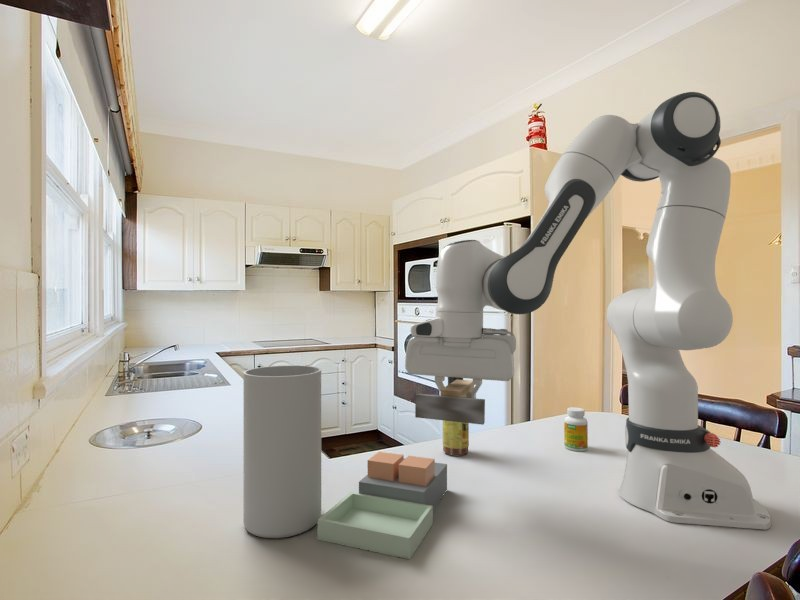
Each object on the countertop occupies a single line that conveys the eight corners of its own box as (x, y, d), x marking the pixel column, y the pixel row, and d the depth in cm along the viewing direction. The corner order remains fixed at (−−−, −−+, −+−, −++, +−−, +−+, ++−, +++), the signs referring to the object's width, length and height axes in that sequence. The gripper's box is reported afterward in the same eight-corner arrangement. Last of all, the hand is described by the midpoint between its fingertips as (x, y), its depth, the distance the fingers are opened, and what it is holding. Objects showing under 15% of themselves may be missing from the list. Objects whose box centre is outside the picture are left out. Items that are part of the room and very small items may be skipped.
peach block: (434, 475, 82) (434, 459, 82) (425, 486, 78) (425, 468, 78) (408, 471, 84) (408, 455, 84) (398, 481, 80) (398, 464, 80)
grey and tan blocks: (495, 408, 89) (495, 382, 89) (483, 424, 76) (483, 394, 76) (435, 402, 93) (436, 377, 93) (415, 417, 80) (415, 389, 80)
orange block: (403, 471, 85) (403, 454, 85) (393, 481, 80) (393, 463, 80) (379, 467, 86) (379, 451, 86) (367, 477, 82) (367, 460, 82)
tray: (432, 524, 75) (432, 505, 75) (409, 559, 64) (409, 538, 64) (351, 509, 80) (351, 491, 80) (317, 539, 70) (317, 519, 70)
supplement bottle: (563, 450, 112) (563, 410, 112) (564, 443, 117) (564, 405, 117) (587, 452, 110) (587, 412, 110) (587, 446, 115) (587, 407, 115)
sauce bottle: (468, 457, 106) (467, 372, 106) (441, 456, 108) (441, 371, 108) (469, 449, 113) (469, 368, 113) (444, 447, 114) (444, 368, 114)
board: (447, 489, 88) (447, 464, 88) (424, 522, 75) (424, 492, 75) (389, 481, 93) (389, 456, 93) (358, 510, 80) (358, 481, 80)
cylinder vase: (240, 512, 79) (240, 367, 79) (312, 499, 84) (312, 363, 84) (247, 547, 68) (247, 379, 68) (329, 530, 73) (329, 373, 73)
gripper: (518, 328, 85) (516, 403, 85) (413, 324, 92) (412, 393, 92) (514, 330, 79) (512, 410, 79) (402, 326, 86) (401, 399, 86)
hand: (458, 401), depth 85 cm, fingers closed on grey and tan blocks, 3 cm apart
